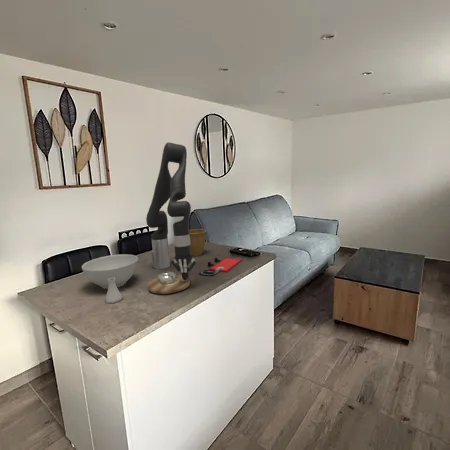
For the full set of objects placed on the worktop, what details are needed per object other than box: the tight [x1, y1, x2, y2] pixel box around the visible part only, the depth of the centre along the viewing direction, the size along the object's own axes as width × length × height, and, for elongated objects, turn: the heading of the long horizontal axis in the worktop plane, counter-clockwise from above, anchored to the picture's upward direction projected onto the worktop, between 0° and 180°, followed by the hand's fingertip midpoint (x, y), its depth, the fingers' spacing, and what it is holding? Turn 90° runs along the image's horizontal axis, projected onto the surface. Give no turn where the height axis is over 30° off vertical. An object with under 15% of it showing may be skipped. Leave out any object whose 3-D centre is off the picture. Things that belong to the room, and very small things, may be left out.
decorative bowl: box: [81, 253, 139, 290], centre depth 149 cm, size 27×27×12 cm
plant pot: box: [189, 228, 207, 257], centre depth 194 cm, size 15×15×16 cm
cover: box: [157, 270, 176, 285], centre depth 142 cm, size 8×8×5 cm
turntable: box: [147, 273, 191, 295], centre depth 142 cm, size 20×20×3 cm
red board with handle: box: [198, 257, 243, 276], centre depth 167 cm, size 30×3×15 cm
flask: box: [104, 278, 124, 304], centre depth 130 cm, size 7×7×10 cm
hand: (185, 279), depth 139 cm, fingers closed
